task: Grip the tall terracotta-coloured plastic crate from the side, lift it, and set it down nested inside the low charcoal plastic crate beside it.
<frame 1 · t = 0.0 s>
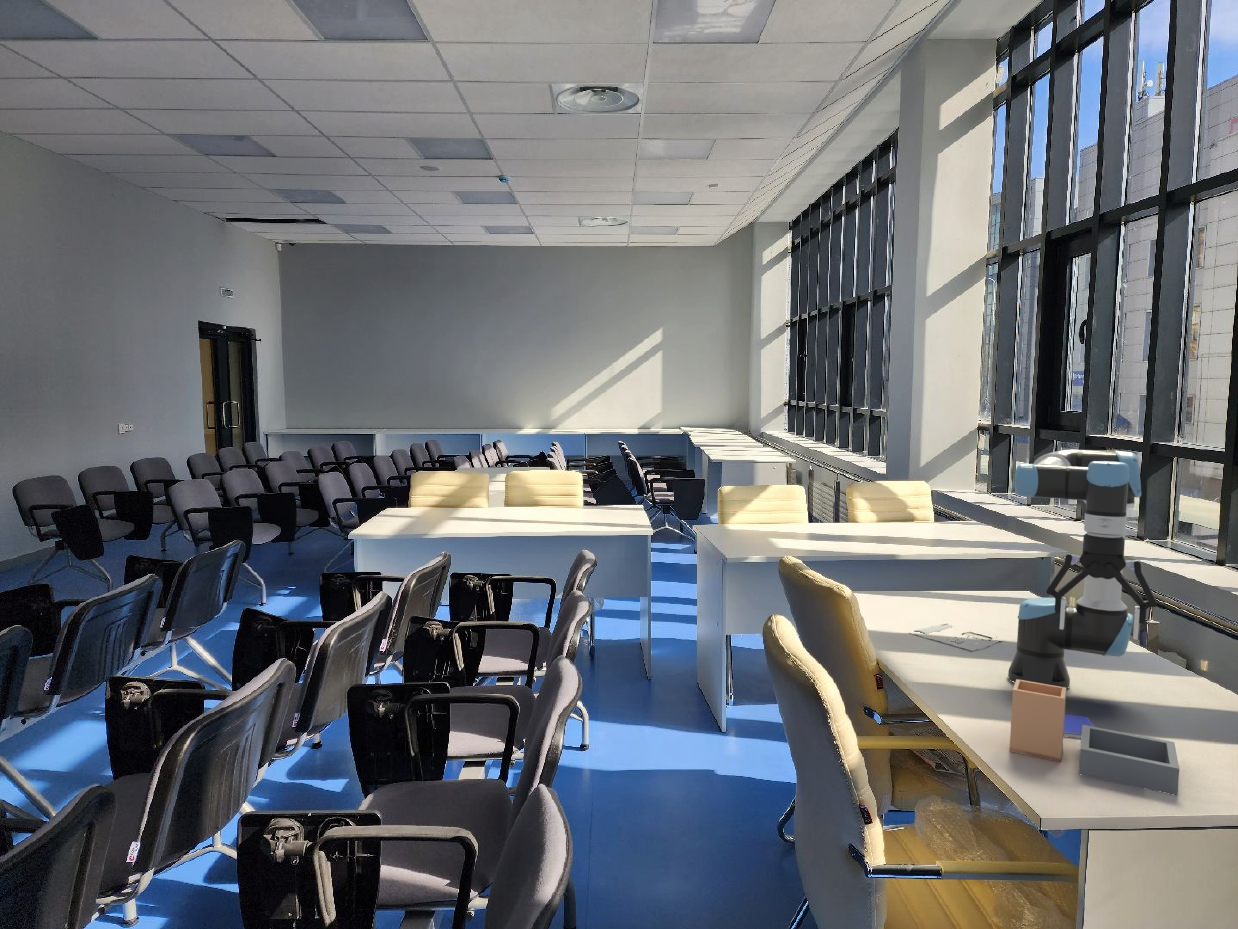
hand: (1097, 633, 175), 28 cm above the table, tool pointing down, fingers open, 13 cm apart
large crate: (1126, 770, 172), on the table
small crate: (1036, 750, 182), on the table
hard drive: (1075, 731, 194), on the table
office telephone: (957, 640, 268), on the table
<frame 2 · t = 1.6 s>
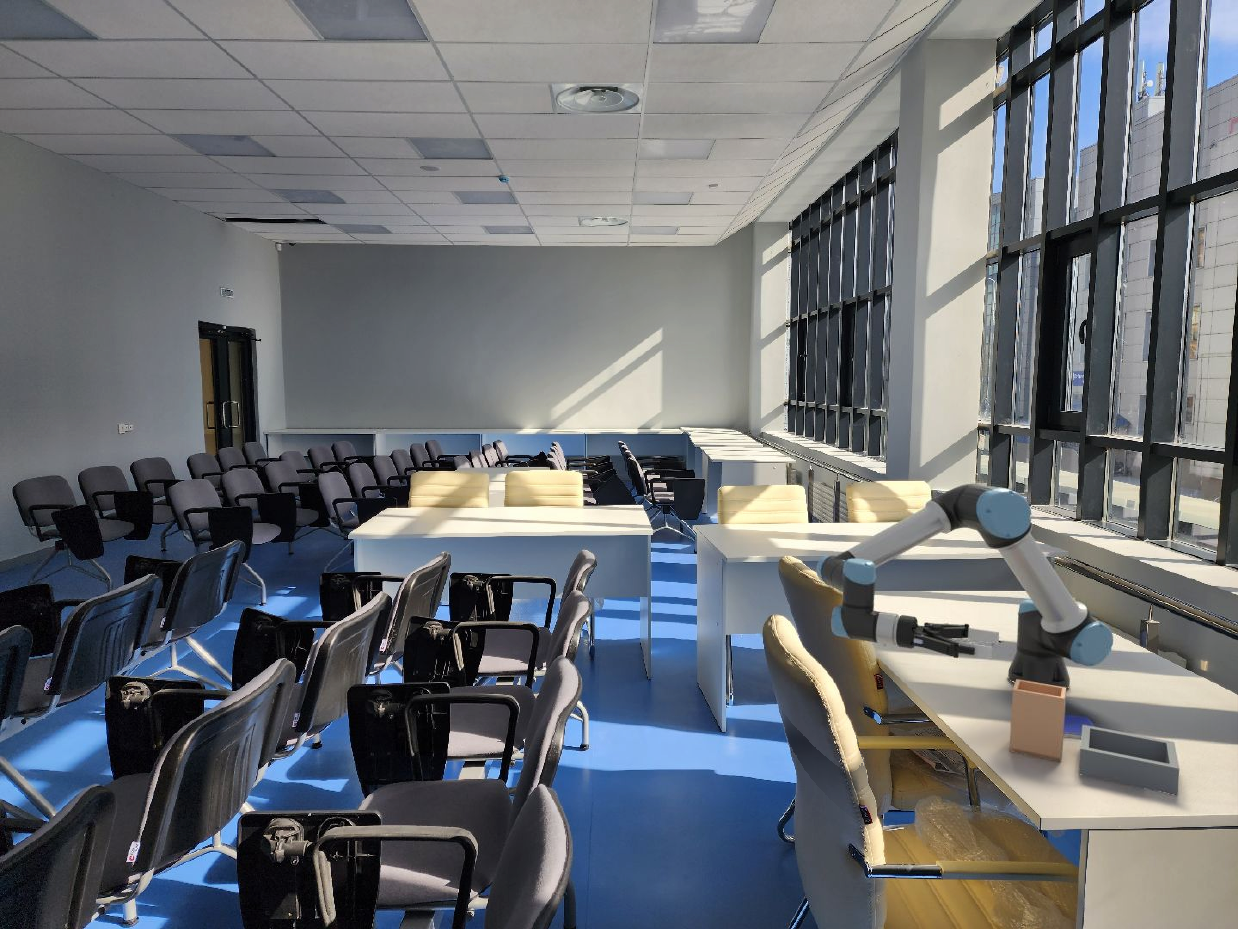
hand: (995, 645, 185), 22 cm above the table, tool horizontal, fingers open, 13 cm apart
nothing on the table moved.
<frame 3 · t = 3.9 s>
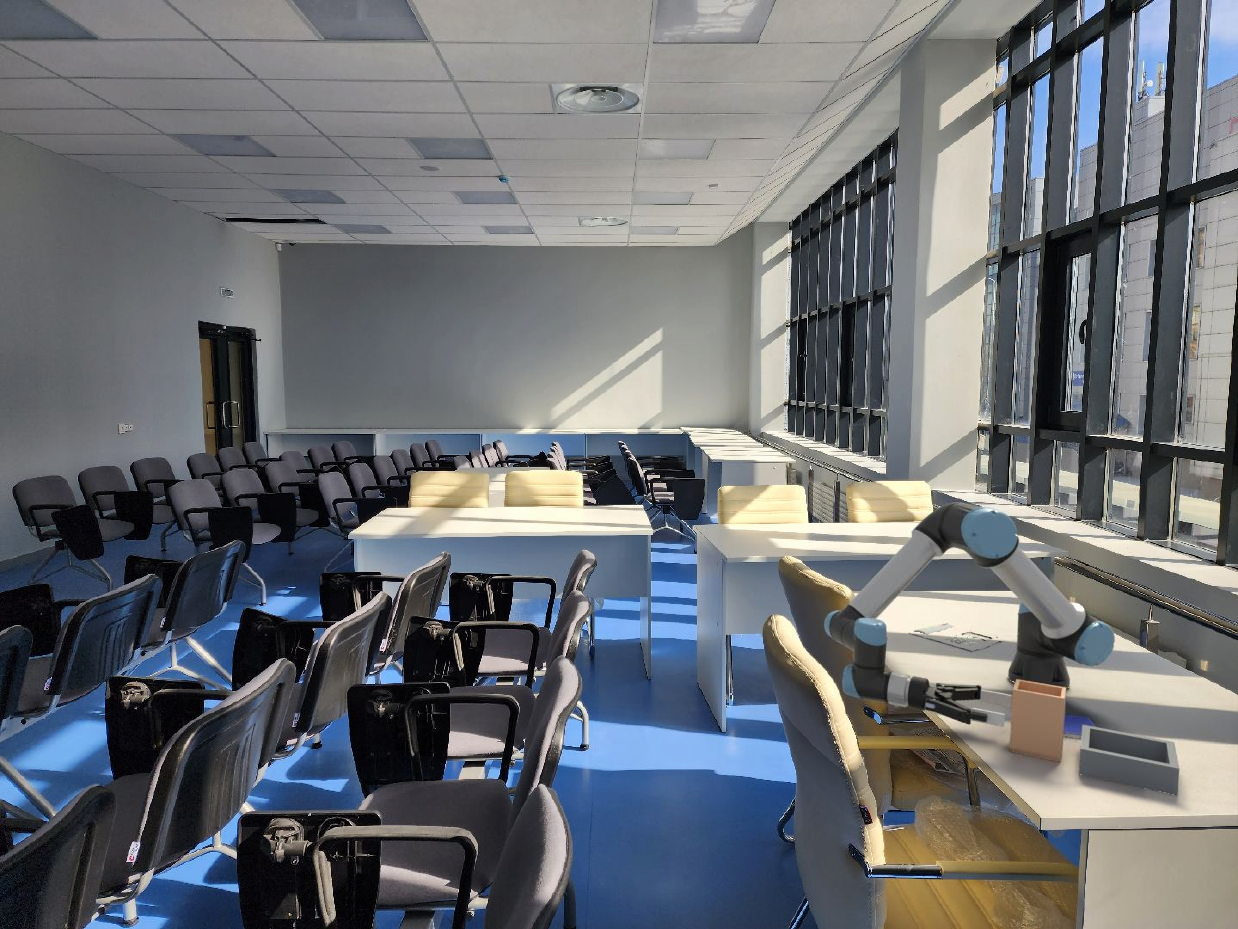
hand: (1008, 710, 184), 8 cm above the table, tool horizontal, fingers open, 13 cm apart
nothing on the table moved.
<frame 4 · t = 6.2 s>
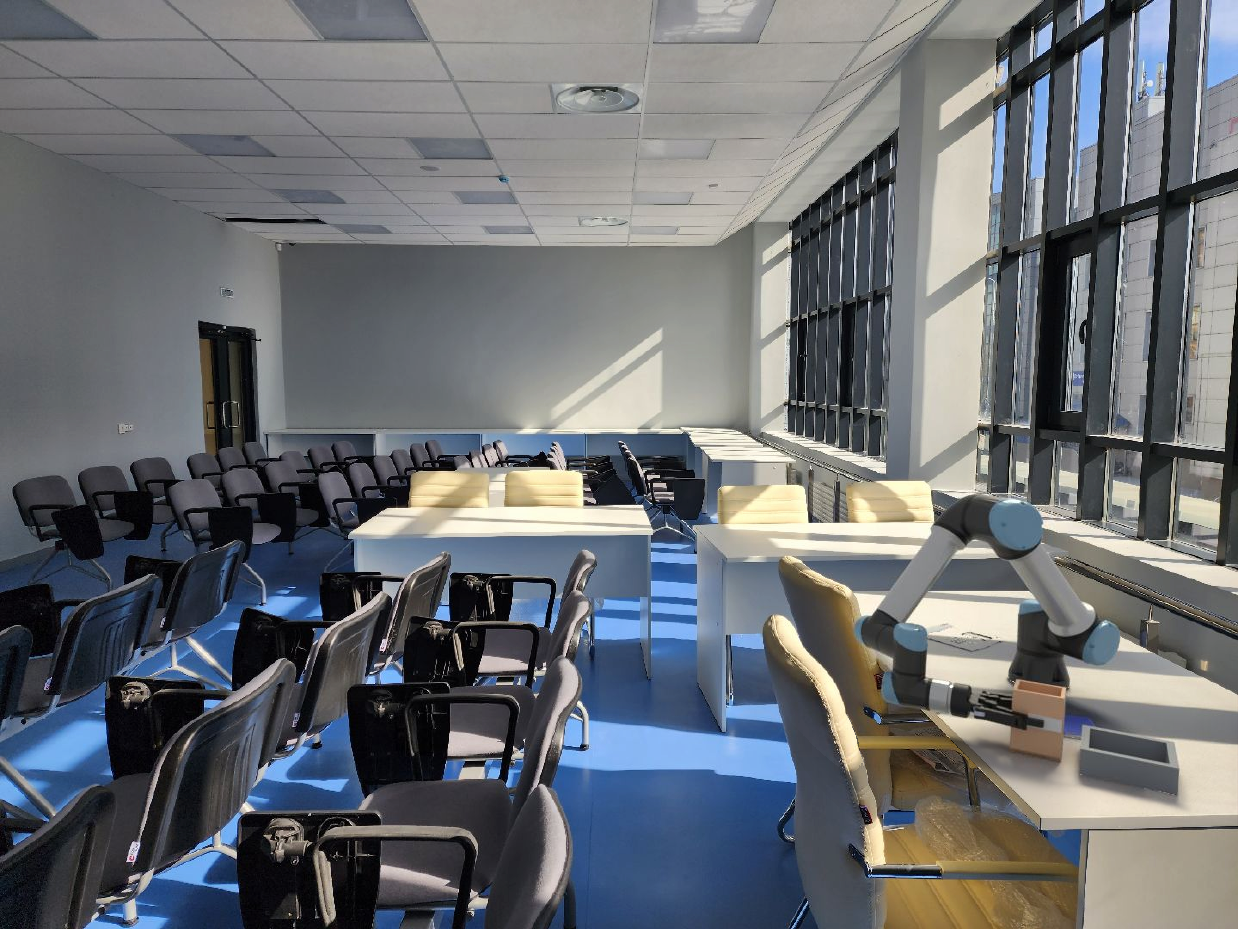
hand: (1062, 719, 178), 8 cm above the table, tool horizontal, fingers closed on small crate, 8 cm apart
small crate: (1036, 750, 182), on the table, touching gripper
everything else where it was.
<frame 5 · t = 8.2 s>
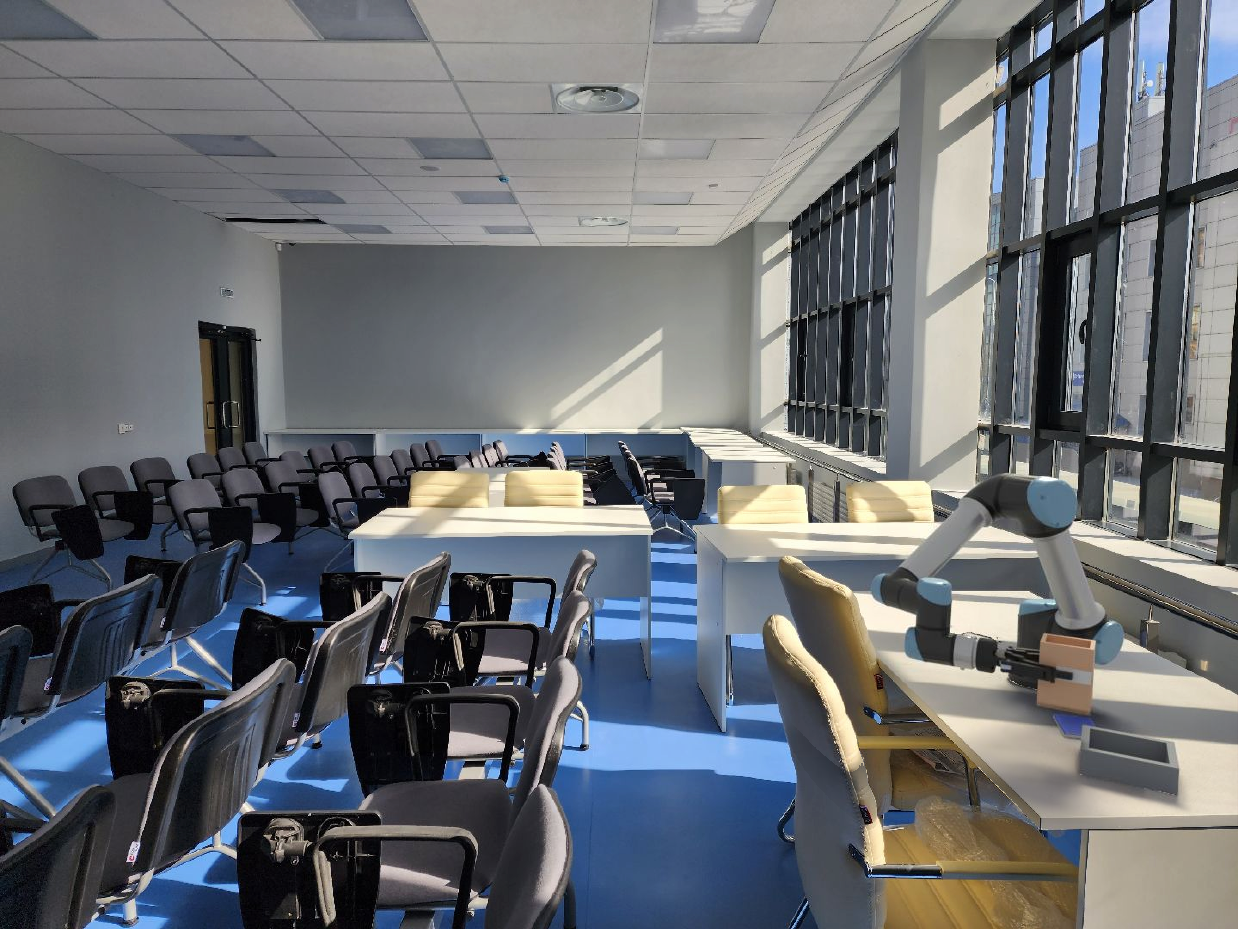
hand: (1092, 672, 174), 20 cm above the table, tool horizontal, fingers closed on small crate, 8 cm apart
small crate: (1064, 704, 177), point 12 cm above the table, touching gripper
everything else where it was.
when the fingers open (10 cm above the table, at t = 11.6 s): small crate drops 1 cm, resting on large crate.
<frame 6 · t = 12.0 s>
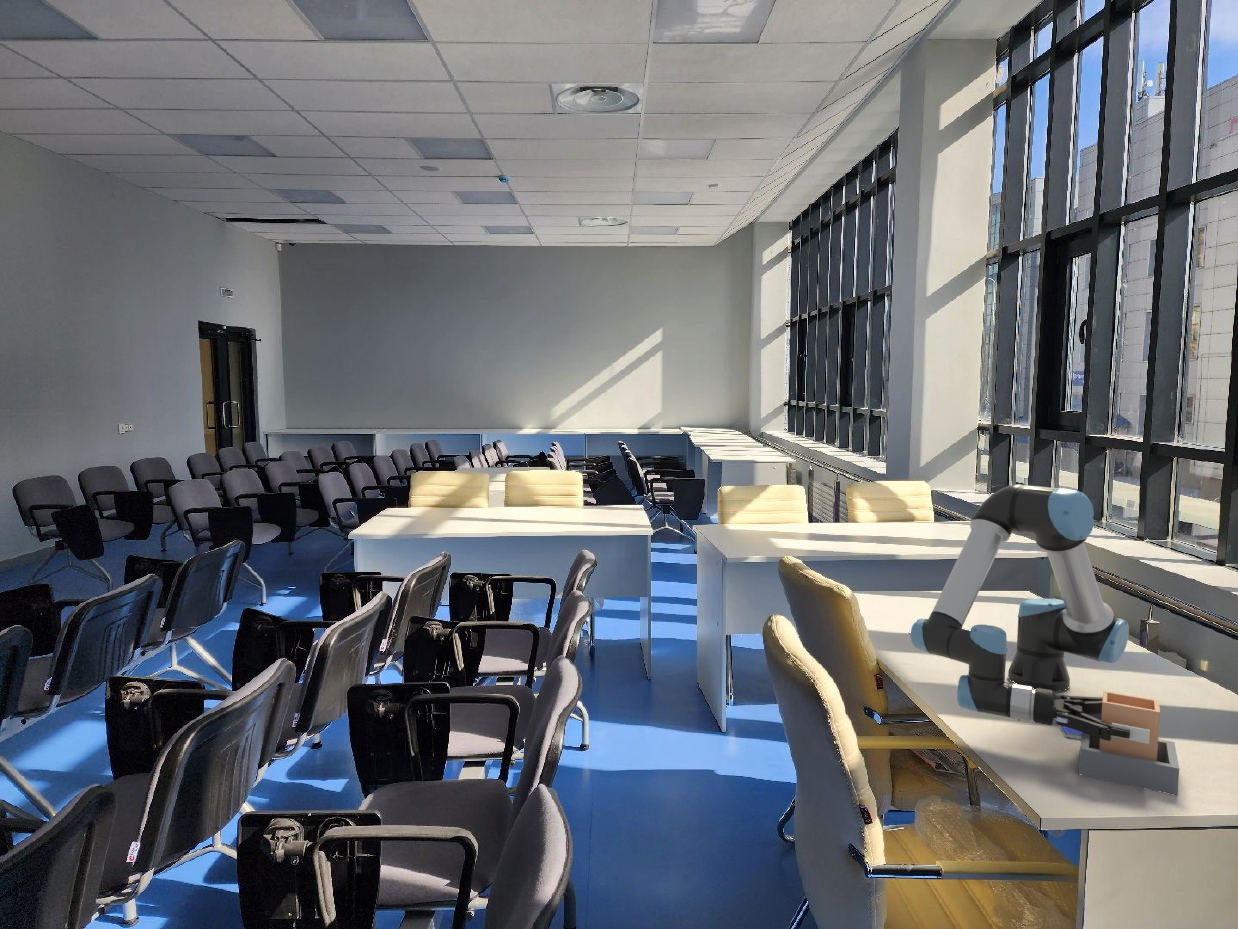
hand: (1148, 725, 169), 10 cm above the table, tool horizontal, fingers open, 13 cm apart
small crate: (1126, 766, 172), point 1 cm above the table, touching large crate
everything else where it was.
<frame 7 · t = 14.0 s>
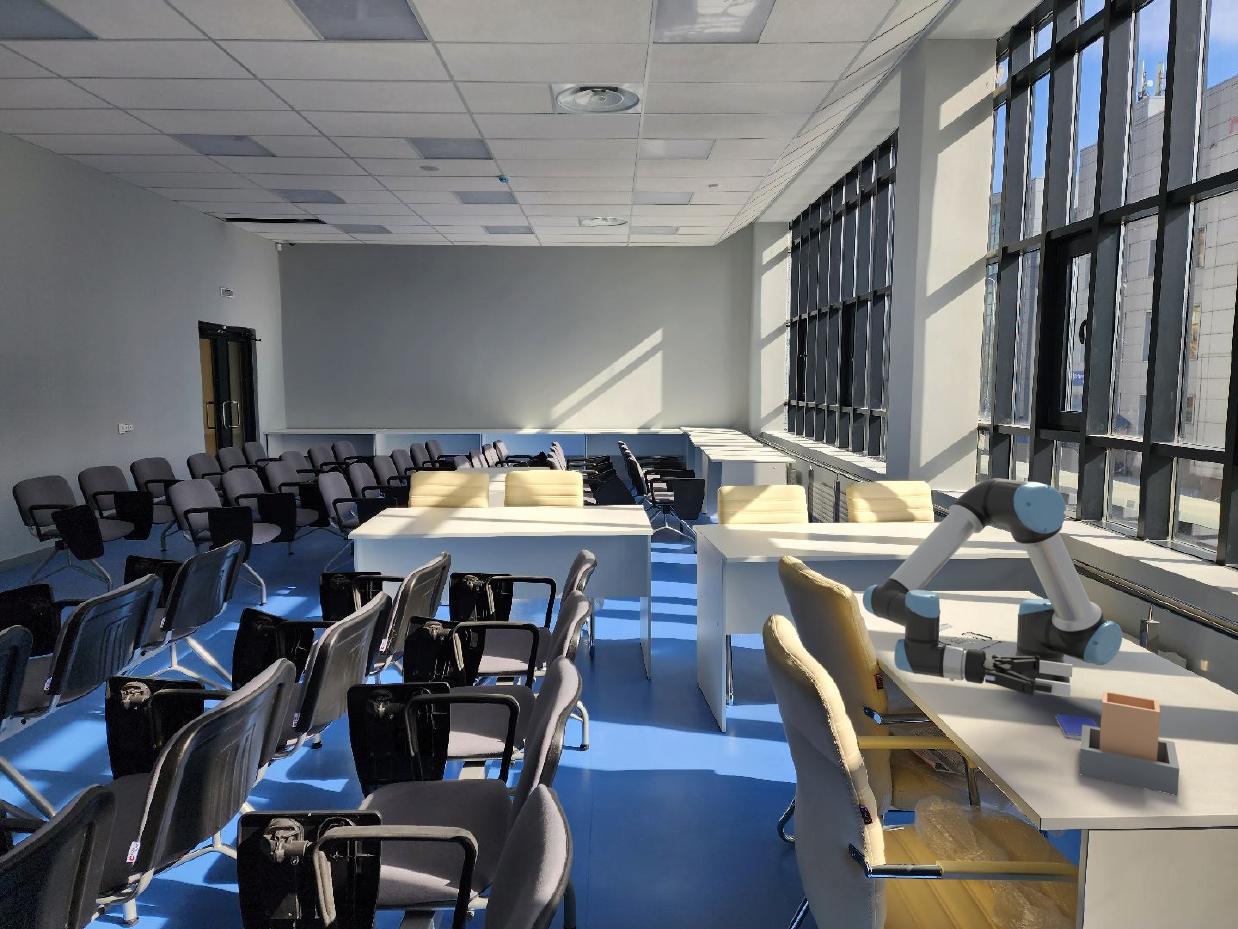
hand: (1071, 680, 177), 17 cm above the table, tool horizontal, fingers open, 13 cm apart
nothing on the table moved.
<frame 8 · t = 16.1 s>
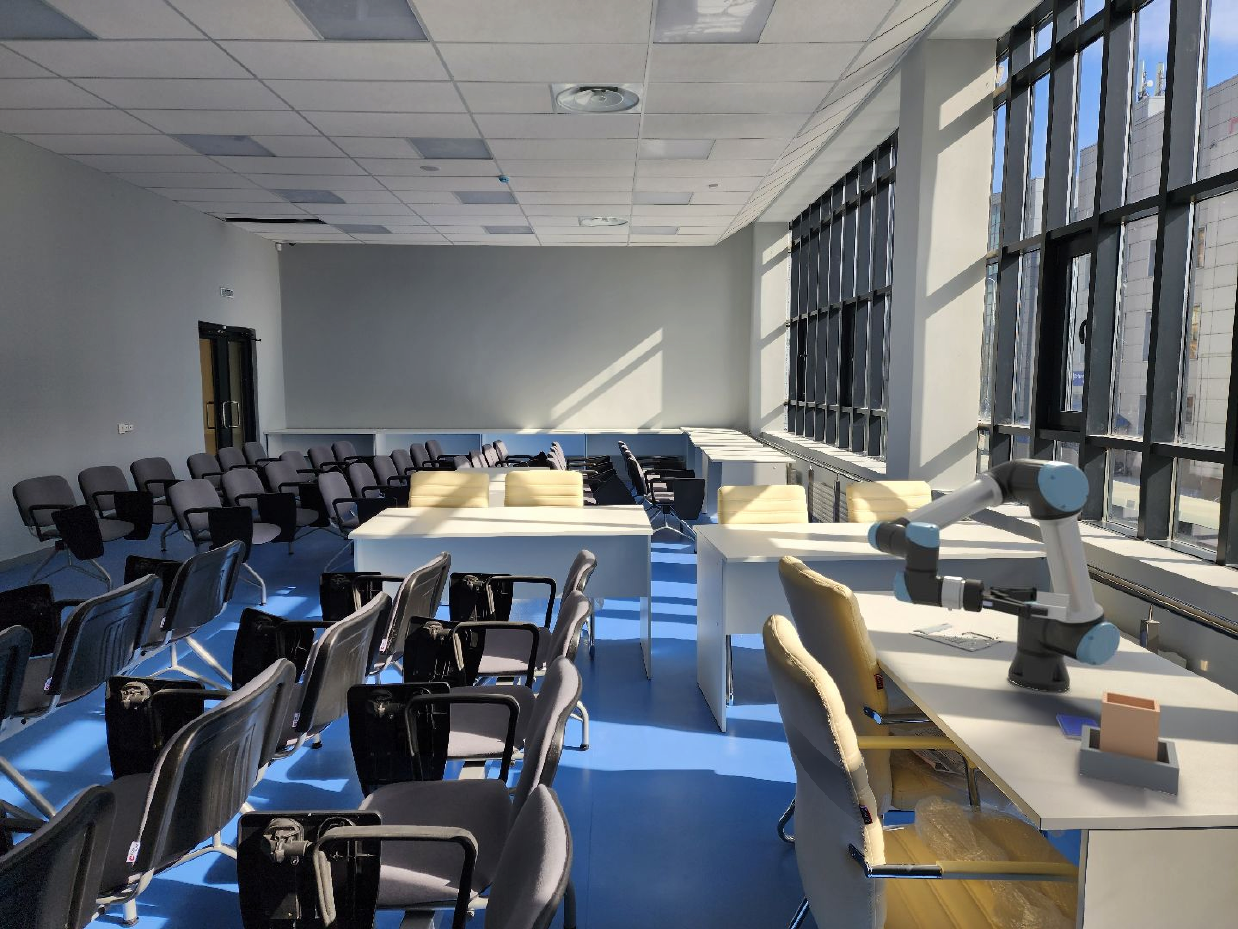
hand: (1067, 607, 180), 32 cm above the table, tool horizontal, fingers open, 13 cm apart
at the end: small crate inside the target area on the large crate (0.1 cm from its centre), point 1.0 cm above the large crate's base; small crate tilted 0°; the gripper is holding nothing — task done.
